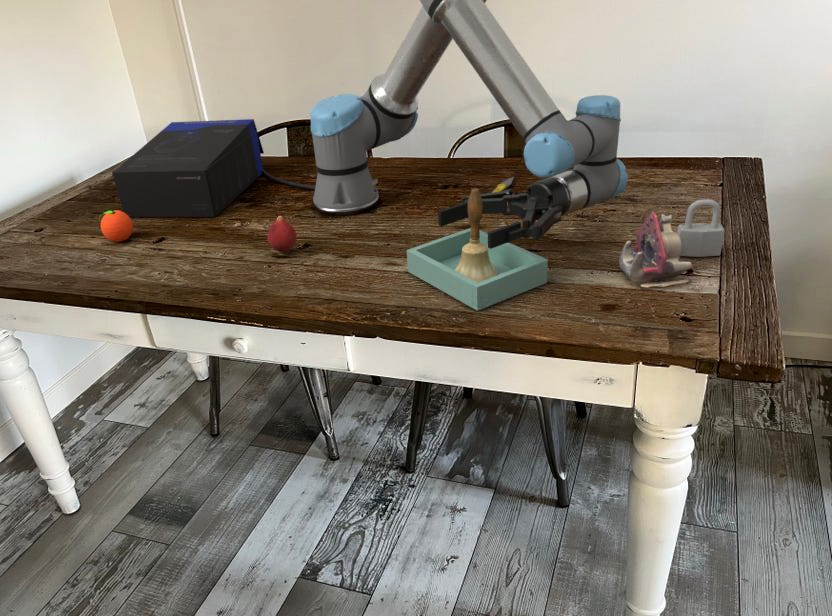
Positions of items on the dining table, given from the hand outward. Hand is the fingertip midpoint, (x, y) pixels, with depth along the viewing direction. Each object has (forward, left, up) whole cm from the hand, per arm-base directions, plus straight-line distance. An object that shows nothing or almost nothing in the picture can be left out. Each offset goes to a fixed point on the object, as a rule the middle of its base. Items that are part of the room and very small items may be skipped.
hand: (463, 229), depth 128 cm
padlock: (+25, +33, -10) cm, 43 cm away
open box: (0, +2, -10) cm, 10 cm away
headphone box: (-89, -3, -10) cm, 89 cm away
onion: (-38, -13, -10) cm, 41 cm away
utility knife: (-25, +39, -10) cm, 48 cm away
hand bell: (0, +2, -10) cm, 10 cm away
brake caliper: (+23, +21, -10) cm, 33 cm away
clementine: (-76, -32, -10) cm, 83 cm away
